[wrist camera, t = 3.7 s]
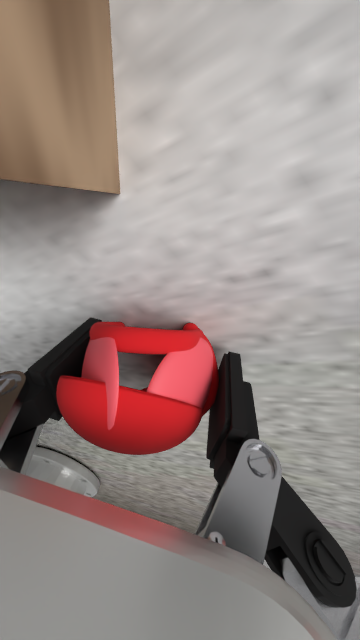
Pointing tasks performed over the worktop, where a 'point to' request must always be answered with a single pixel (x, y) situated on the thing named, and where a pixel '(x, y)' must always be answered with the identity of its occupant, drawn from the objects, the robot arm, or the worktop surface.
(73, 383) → the red rounded piece
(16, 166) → the walnut block
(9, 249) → the worktop surface
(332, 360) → the worktop surface
